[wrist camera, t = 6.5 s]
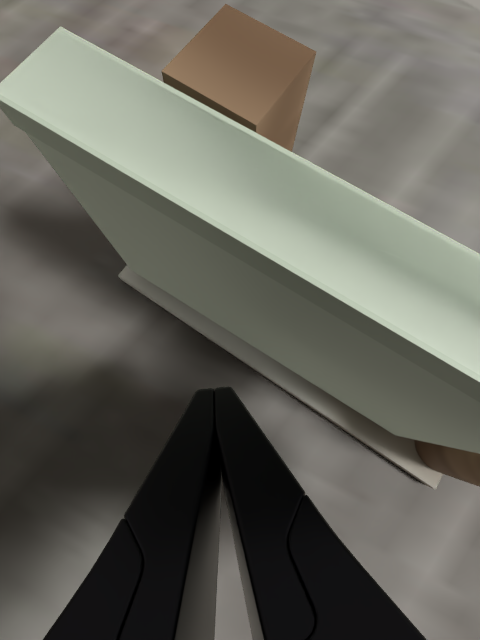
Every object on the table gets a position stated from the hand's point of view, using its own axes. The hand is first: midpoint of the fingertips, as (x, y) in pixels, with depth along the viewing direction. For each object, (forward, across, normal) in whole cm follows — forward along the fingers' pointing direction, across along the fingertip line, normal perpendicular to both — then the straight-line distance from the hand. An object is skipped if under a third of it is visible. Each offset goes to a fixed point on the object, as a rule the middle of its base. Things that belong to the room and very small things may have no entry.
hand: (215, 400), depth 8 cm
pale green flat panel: (+5, -2, +2) cm, 6 cm away
